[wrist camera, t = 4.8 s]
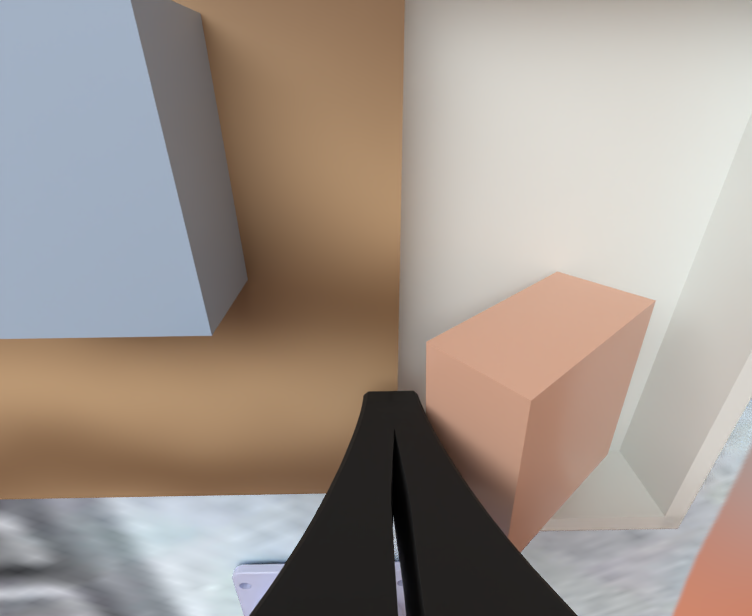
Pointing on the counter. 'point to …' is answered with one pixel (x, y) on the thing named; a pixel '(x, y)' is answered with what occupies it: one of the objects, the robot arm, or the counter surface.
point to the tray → (591, 208)
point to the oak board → (248, 285)
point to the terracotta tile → (534, 394)
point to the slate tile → (112, 173)
